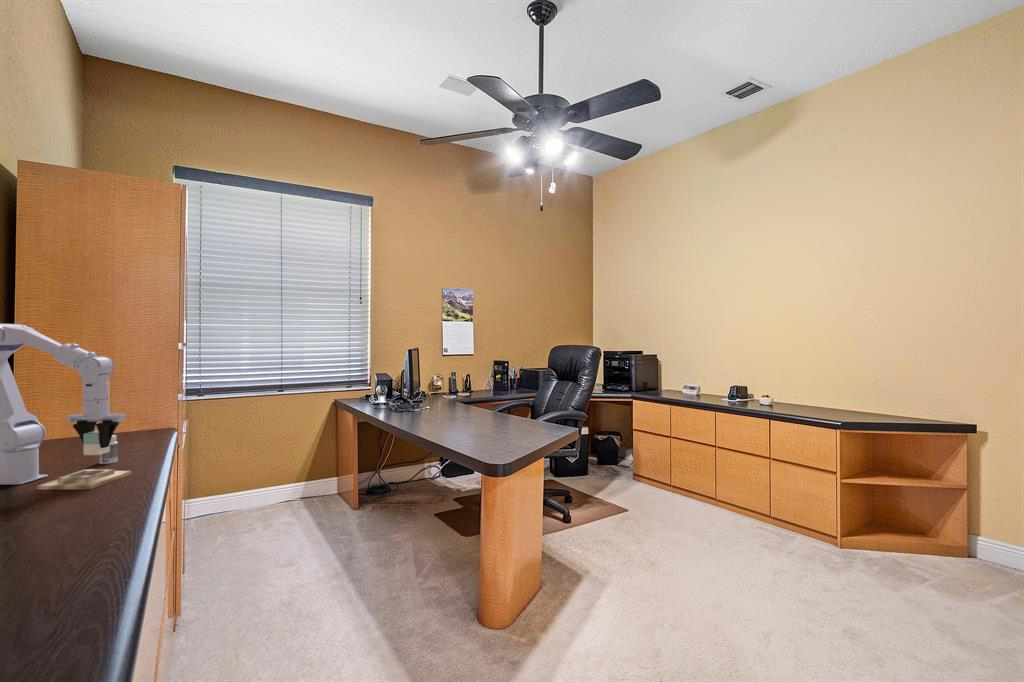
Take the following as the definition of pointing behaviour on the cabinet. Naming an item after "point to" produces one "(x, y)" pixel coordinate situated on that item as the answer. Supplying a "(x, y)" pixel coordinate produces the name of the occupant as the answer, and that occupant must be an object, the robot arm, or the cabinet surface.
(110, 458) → the pill bottle
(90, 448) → the teal and cream block
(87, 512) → the cabinet surface
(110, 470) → the base plate
